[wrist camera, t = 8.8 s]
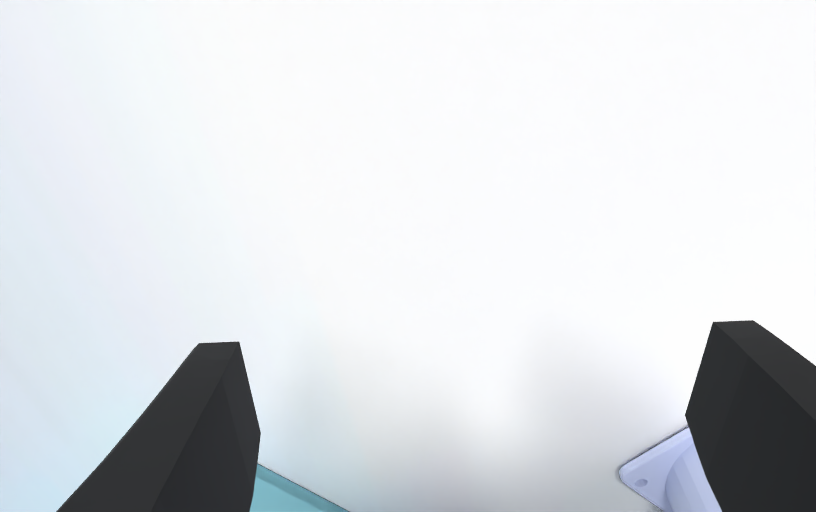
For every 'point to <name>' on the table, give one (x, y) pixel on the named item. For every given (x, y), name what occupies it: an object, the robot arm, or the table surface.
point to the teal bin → (285, 495)
